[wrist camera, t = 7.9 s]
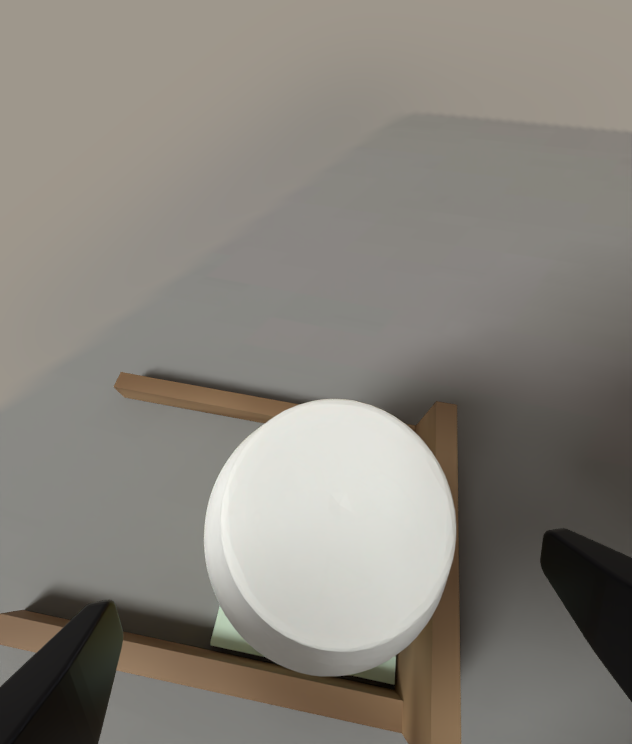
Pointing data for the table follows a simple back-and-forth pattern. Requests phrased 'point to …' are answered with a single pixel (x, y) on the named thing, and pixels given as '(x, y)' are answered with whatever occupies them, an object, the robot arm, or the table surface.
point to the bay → (274, 682)
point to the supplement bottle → (330, 537)
